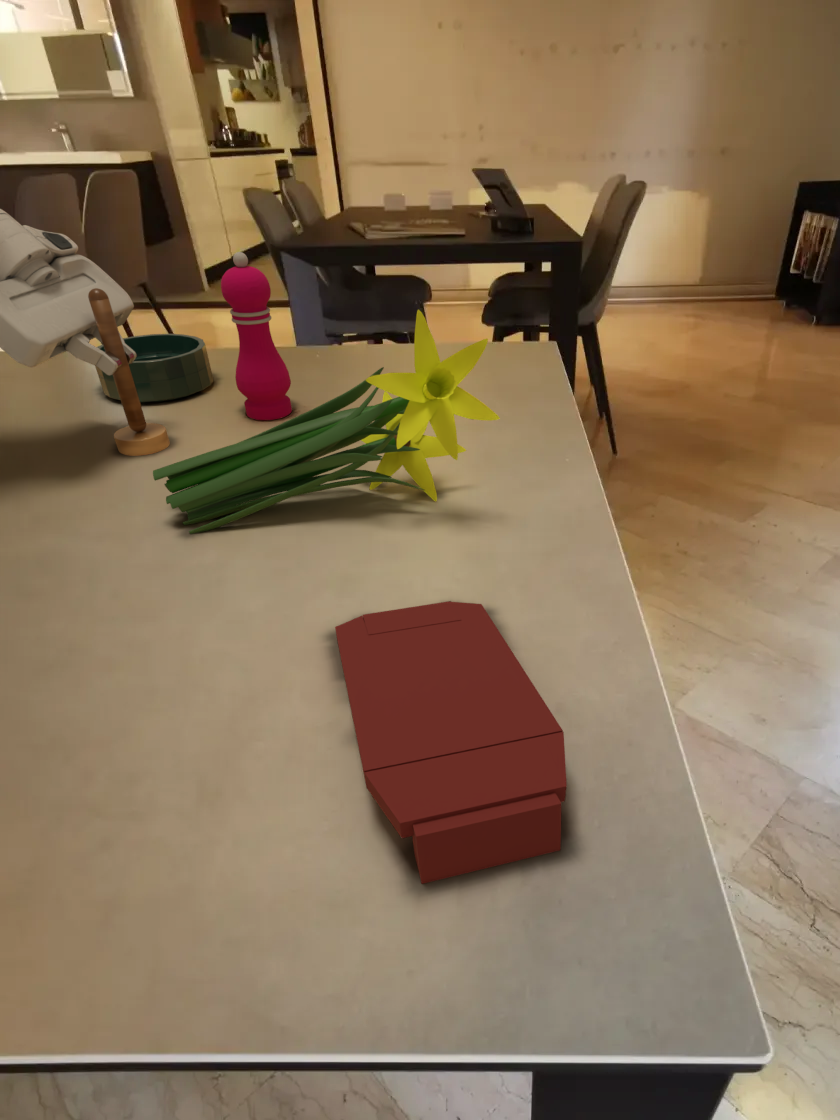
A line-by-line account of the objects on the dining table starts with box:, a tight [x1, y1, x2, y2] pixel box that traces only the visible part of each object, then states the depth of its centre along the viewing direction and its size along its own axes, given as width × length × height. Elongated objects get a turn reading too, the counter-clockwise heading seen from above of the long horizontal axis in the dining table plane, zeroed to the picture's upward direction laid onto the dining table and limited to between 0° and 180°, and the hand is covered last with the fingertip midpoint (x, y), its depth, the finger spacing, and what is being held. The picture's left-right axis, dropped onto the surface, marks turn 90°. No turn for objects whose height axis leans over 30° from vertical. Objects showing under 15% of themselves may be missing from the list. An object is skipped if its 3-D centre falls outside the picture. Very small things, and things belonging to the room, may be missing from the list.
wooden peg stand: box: [88, 288, 171, 457], centre depth 82 cm, size 6×6×18 cm
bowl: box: [94, 333, 214, 403], centre depth 105 cm, size 16×16×6 cm
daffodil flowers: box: [152, 309, 501, 535], centre depth 71 cm, size 17×15×35 cm
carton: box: [334, 600, 568, 885], centre depth 49 cm, size 12×5×25 cm
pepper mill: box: [220, 251, 293, 421], centre depth 92 cm, size 7×7×20 cm
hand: (124, 365), depth 81 cm, fingers closed on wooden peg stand
